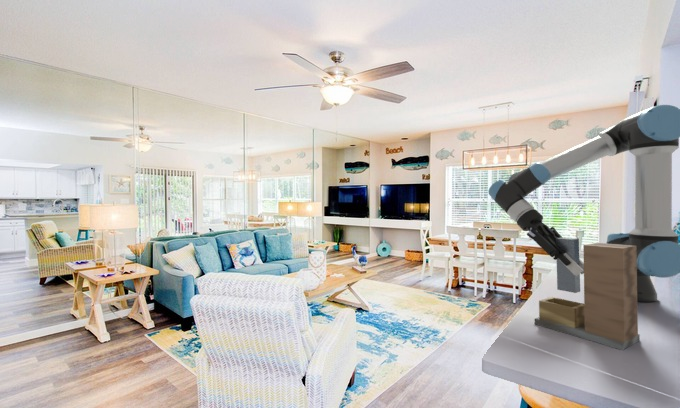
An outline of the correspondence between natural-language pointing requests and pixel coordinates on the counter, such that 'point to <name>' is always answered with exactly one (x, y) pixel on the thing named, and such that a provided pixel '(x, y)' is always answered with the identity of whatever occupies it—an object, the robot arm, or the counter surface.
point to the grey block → (564, 275)
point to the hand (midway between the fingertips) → (582, 272)
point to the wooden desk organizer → (600, 299)
